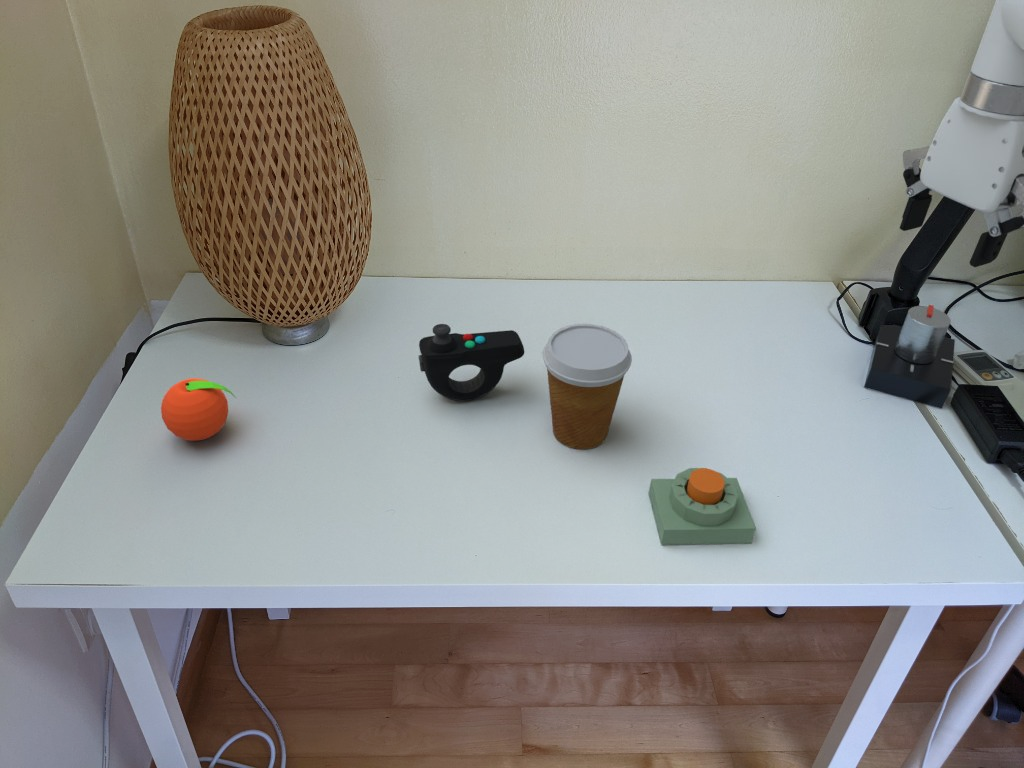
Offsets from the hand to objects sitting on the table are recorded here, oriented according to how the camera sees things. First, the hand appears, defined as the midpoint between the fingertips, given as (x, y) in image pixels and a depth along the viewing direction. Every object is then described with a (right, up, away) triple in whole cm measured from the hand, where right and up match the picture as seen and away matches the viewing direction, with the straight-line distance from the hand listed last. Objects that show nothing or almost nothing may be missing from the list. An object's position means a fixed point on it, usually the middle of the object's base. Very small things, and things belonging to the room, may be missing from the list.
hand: (944, 245), depth 90 cm
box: (-31, -30, -11) cm, 45 cm away
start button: (-31, -27, -13) cm, 43 cm away
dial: (+1, -12, +8) cm, 15 cm away
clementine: (-85, -22, -2) cm, 88 cm away
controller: (-55, -18, +5) cm, 58 cm away
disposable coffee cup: (-42, -22, -1) cm, 48 cm away
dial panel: (+1, -15, +10) cm, 18 cm away
